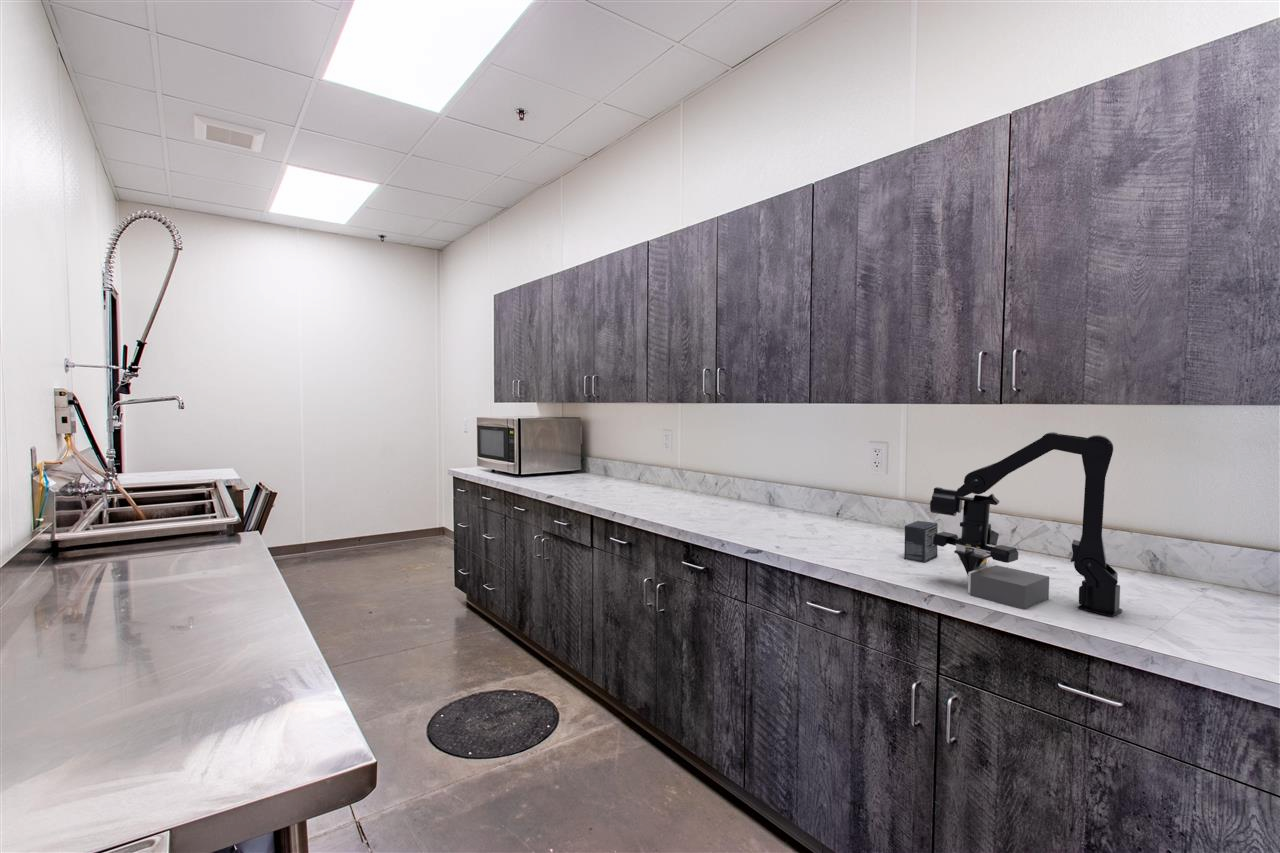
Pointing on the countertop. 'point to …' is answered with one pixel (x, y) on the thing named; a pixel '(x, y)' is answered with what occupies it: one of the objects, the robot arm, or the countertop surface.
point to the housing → (1010, 586)
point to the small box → (920, 541)
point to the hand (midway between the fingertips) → (971, 579)
